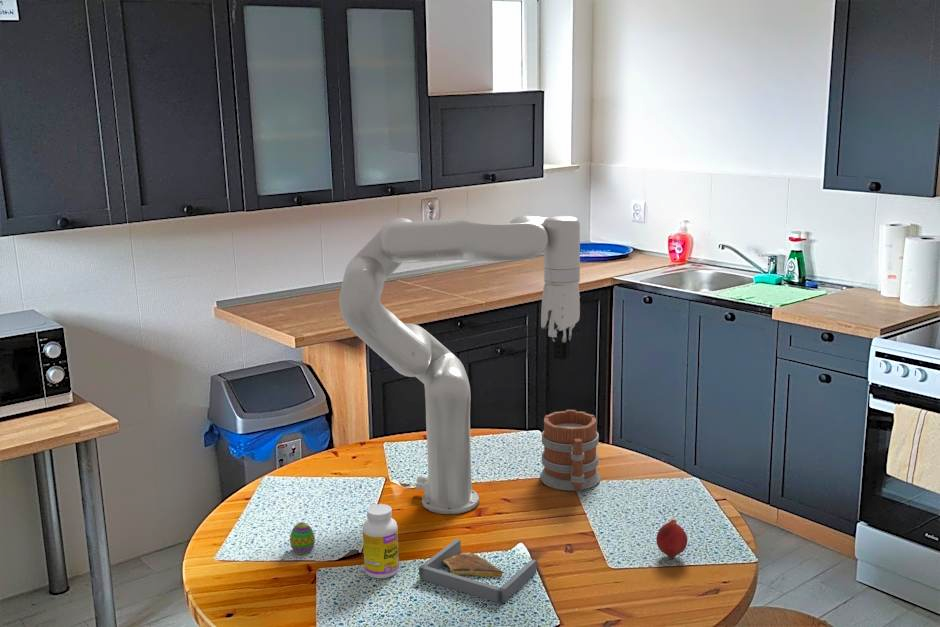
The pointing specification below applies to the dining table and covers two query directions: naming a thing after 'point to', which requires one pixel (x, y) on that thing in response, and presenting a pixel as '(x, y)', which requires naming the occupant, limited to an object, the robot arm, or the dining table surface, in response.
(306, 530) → the egg
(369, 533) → the supplement bottle
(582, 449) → the mug
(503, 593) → the slate bay
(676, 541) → the onion
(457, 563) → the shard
